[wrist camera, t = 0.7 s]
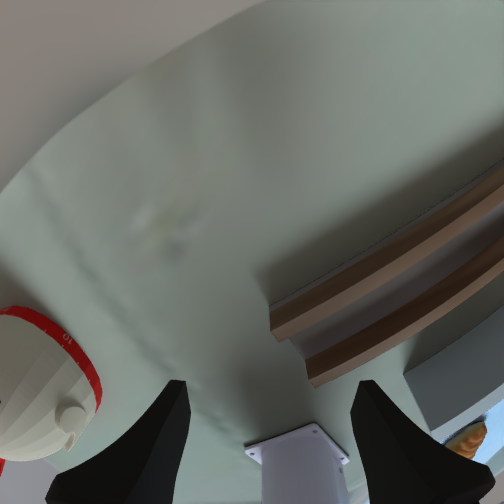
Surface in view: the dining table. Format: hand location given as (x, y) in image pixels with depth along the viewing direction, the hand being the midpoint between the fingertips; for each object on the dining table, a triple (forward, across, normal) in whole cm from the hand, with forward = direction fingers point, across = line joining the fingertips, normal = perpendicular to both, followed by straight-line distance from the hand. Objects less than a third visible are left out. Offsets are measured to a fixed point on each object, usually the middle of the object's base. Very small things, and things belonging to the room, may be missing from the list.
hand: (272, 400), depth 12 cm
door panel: (+10, -18, +6) cm, 21 cm away
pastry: (+10, -26, +24) cm, 37 cm away
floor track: (+10, -12, -3) cm, 16 cm away
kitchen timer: (+10, +22, +10) cm, 26 cm away
